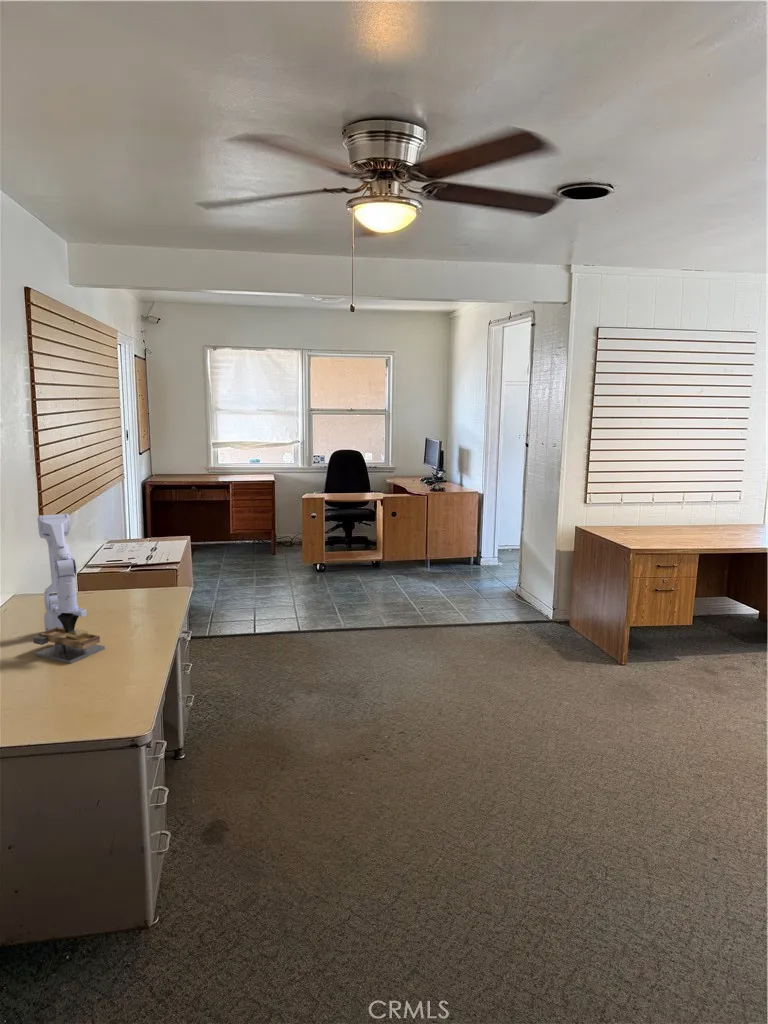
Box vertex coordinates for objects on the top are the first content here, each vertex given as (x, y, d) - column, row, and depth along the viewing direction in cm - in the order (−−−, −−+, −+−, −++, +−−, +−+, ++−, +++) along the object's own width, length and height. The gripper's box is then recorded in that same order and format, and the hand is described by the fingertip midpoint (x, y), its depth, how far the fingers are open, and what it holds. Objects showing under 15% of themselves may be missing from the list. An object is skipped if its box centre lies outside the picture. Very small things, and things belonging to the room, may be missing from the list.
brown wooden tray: (33, 643, 217) (32, 635, 216) (63, 632, 227) (62, 624, 227) (76, 652, 209) (76, 645, 208) (105, 641, 219) (105, 633, 219)
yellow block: (66, 640, 215) (65, 632, 215) (77, 636, 219) (77, 628, 219) (76, 642, 213) (76, 635, 213) (88, 638, 217) (87, 631, 217)
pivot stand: (35, 655, 216) (34, 642, 215) (71, 641, 228) (70, 629, 228) (70, 663, 209) (69, 650, 208) (104, 648, 222) (103, 636, 221)
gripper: (41, 595, 215) (44, 634, 217) (72, 601, 209) (75, 641, 211) (59, 590, 221) (62, 628, 223) (90, 595, 215) (93, 634, 217)
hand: (70, 634), depth 218 cm, fingers closed
